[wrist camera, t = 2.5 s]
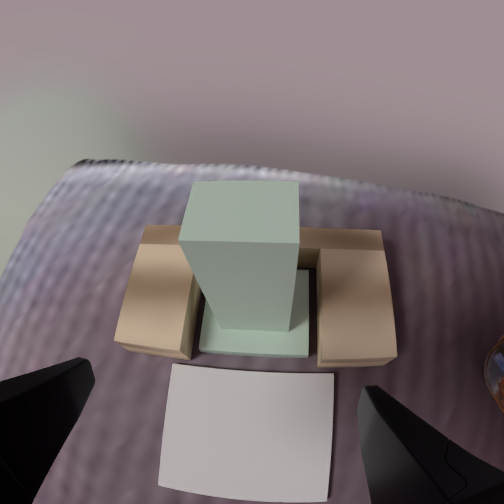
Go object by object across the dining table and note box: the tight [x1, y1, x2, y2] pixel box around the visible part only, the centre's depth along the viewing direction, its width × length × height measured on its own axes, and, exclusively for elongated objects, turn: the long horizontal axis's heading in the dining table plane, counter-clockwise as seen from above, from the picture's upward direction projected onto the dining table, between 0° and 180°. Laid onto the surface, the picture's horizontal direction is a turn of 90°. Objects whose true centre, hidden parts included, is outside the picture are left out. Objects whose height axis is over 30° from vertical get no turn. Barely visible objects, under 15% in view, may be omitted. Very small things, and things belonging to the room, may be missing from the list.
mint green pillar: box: [178, 181, 309, 358], centre depth 18 cm, size 7×8×12 cm
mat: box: [158, 364, 334, 502], centre depth 18 cm, size 10×12×1 cm
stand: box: [114, 225, 397, 368], centre depth 23 cm, size 10×20×3 cm, turn 85°
